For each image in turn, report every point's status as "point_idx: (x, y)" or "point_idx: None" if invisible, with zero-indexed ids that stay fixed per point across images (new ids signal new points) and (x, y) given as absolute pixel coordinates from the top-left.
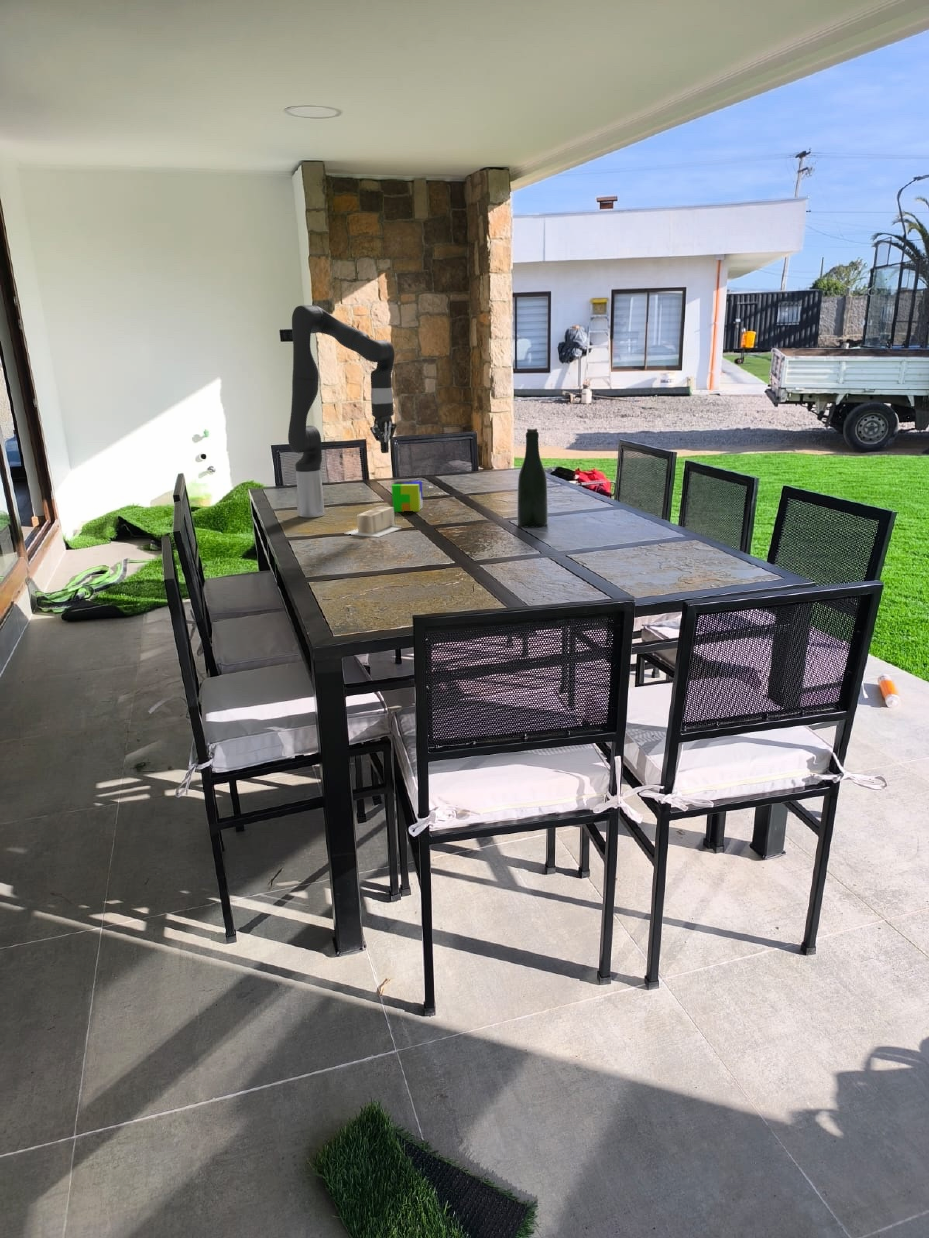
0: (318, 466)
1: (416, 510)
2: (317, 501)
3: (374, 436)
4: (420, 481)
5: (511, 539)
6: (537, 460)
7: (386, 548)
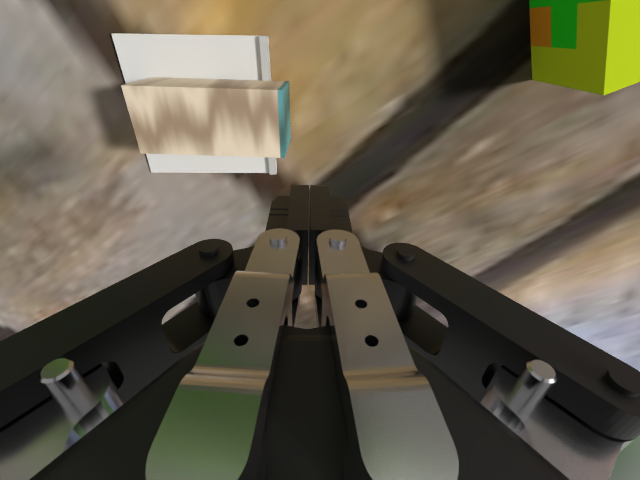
0: None
1: (534, 70)
2: None
3: (133, 281)
4: None
5: None
6: None
7: (89, 247)
